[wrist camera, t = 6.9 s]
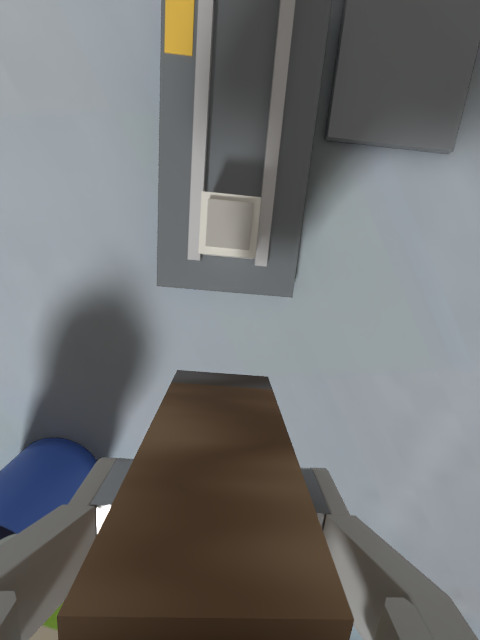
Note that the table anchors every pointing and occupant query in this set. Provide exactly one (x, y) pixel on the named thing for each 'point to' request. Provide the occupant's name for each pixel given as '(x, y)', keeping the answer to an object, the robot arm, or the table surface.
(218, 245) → the switch tab
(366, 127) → the mat
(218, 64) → the switch panel
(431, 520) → the table surface
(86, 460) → the water bottle
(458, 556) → the table surface
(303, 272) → the table surface
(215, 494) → the wooden block
